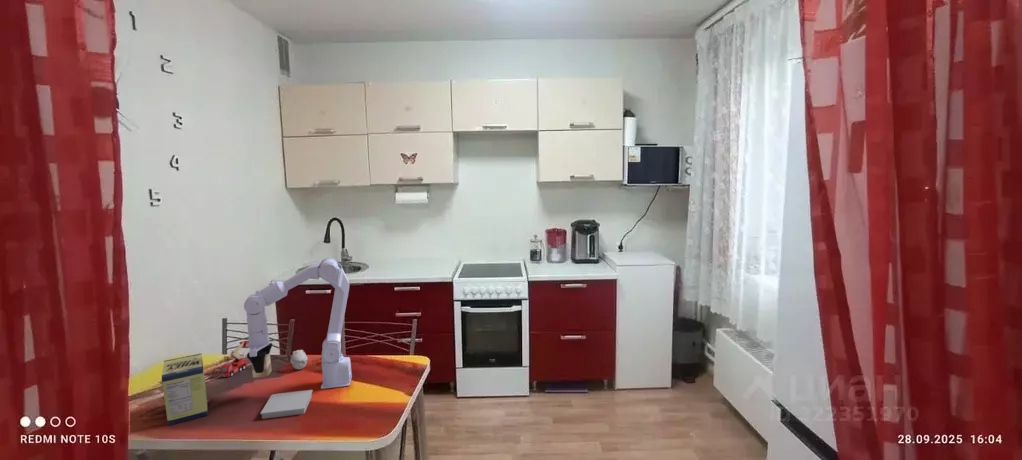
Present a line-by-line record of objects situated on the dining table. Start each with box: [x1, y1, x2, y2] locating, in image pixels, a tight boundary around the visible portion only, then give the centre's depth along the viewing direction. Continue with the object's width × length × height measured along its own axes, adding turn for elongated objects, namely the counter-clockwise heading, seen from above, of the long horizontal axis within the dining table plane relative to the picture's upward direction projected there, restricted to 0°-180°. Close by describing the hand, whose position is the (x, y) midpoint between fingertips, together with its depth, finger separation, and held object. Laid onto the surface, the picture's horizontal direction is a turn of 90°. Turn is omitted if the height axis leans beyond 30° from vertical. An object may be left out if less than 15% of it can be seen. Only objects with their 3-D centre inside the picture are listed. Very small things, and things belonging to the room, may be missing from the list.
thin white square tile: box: [260, 389, 313, 420], centre depth 152 cm, size 13×13×2 cm
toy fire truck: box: [221, 340, 249, 378], centre depth 181 cm, size 3×14×10 cm, turn 168°
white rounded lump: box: [289, 349, 309, 370], centre depth 181 cm, size 6×7×7 cm
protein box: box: [161, 353, 209, 426], centre depth 151 cm, size 10×16×16 cm
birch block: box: [251, 354, 272, 378], centre depth 160 cm, size 4×4×6 cm
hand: (261, 369), depth 160 cm, fingers closed on birch block, 4 cm apart
